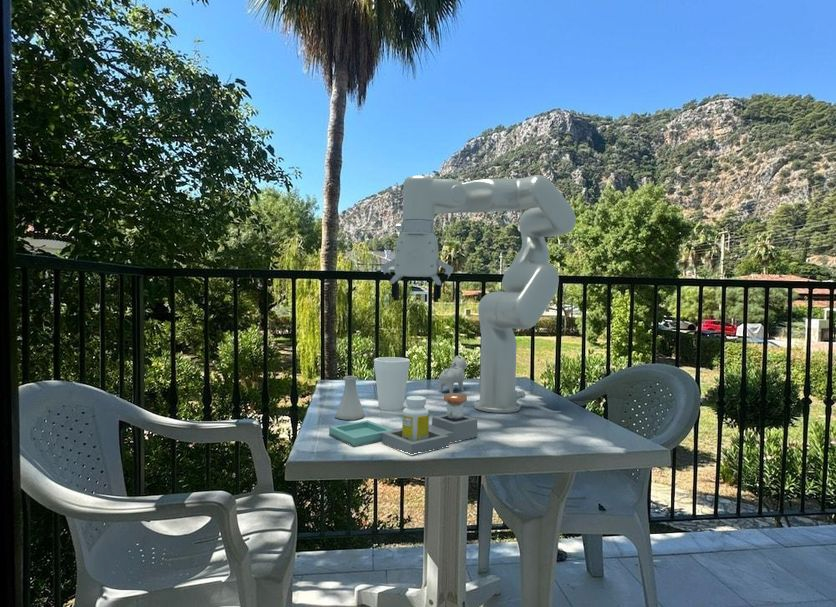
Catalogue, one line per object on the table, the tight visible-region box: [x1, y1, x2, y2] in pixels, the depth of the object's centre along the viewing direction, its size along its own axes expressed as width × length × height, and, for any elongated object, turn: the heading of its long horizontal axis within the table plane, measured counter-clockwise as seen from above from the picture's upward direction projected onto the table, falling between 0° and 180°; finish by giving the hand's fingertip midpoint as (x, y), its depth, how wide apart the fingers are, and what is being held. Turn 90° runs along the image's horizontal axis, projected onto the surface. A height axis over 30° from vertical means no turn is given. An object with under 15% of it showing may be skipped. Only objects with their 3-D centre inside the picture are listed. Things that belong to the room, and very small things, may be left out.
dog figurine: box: [438, 355, 468, 393], centre depth 164 cm, size 5×13×11 cm, turn 147°
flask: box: [334, 375, 365, 421], centre depth 129 cm, size 7×7×10 cm
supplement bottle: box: [401, 395, 430, 442], centre depth 107 cm, size 5×5×10 cm
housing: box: [381, 413, 478, 454], centre depth 110 cm, size 19×10×4 cm, turn 129°
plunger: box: [443, 392, 468, 422], centre depth 114 cm, size 5×5×7 cm
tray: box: [328, 420, 394, 447], centre depth 112 cm, size 10×10×2 cm
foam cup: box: [373, 356, 411, 412], centre depth 139 cm, size 10×9×13 cm
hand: (415, 301), depth 125 cm, fingers open, 9 cm apart
